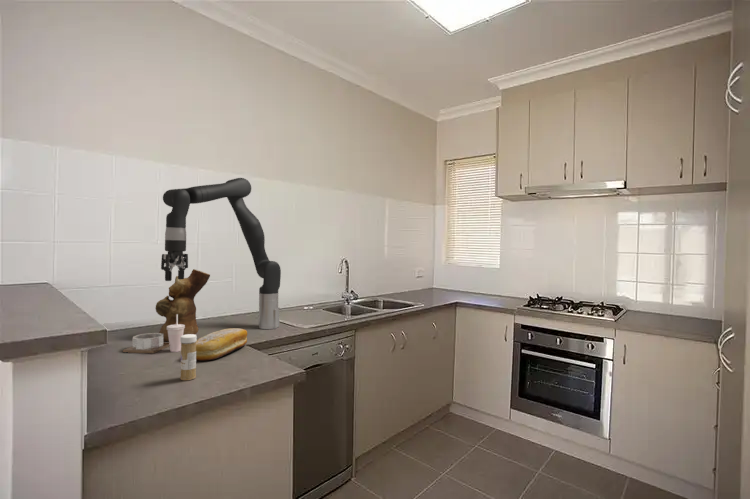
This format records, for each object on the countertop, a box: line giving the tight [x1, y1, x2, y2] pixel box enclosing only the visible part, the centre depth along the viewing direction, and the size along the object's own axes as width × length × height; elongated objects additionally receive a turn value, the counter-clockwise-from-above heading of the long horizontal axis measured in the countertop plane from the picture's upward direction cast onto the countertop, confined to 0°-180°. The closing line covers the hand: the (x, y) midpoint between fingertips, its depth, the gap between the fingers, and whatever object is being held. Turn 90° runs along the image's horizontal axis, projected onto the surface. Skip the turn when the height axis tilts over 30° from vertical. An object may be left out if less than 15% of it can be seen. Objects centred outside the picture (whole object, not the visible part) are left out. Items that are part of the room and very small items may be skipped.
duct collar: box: [122, 332, 170, 354], centre depth 153 cm, size 12×12×5 cm
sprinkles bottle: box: [179, 334, 198, 381], centre depth 120 cm, size 5×5×14 cm
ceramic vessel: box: [155, 268, 211, 343], centre depth 172 cm, size 16×22×30 cm
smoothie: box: [167, 314, 185, 353], centre depth 150 cm, size 6×6×14 cm
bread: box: [196, 327, 248, 362], centre depth 150 cm, size 13×26×8 cm, turn 169°
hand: (174, 280), depth 154 cm, fingers open, 8 cm apart
